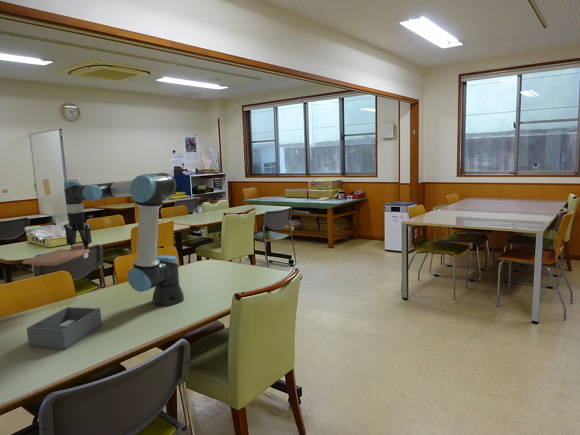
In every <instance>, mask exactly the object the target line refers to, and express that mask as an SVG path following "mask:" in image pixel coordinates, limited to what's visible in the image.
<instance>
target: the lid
mask: <svg viewBox="0 0 580 435" xmlns="http://www.w3.org/2000/svg"><path fill="white" fill-rule="evenodd" d="M76 244H77V245H74V246H71V245H70V247H69V248H58V249H56V250H53V251H50V252H47V253H44V254H41V255H37V256H34V257H31V258H28V259H25V260H22V262H21V263H22V264H23V265H30V266H51V267H53V266H58V265H61V264H63V263H67V262H69V261H71V260H75V259H78V258H80V257H83V255H84V254H85V253H88V254H89V253H90V251H91V250H90V249H82V245H83V243H76ZM88 248H90V244H88Z"/></svg>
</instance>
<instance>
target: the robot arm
mask: <svg viewBox="0 0 580 435" xmlns="http://www.w3.org/2000/svg"><path fill="white" fill-rule="evenodd" d="M176 189H177V181H176V179H175V178H174V177H173V176H172V175H171V174H169V173H166V172H159V173H157V172H156V173H145V174H144V173H143V174H139V175H137V176H136V177H134V178H133V179H132V180H125V181H115V182H114V181H113V182H105V183H94V184H93V183H92V184H82V182H81V181H80V180H67V181H65V182H63V191H64V198H65V206H66V212H67V213H66V214H67V221H68V223H67V224H64V225H63V228H64V229H65V230H64V232H65V240H66V244H67V245H70V247H71V246H74V245H77V244H78V243H77V242H76V241H77V233H79V235H80V239H81V242H82V244H83V245H82V249H89V248H90V247H89V248H88V244H89V245H90V244H92V242H93V241H92V234H91V233H92V232H91V223H86V222H85V218H86V217H85V212H84V211H85V208H84V201H87V202H88V201H89V202H95V201H98V200H102V199H110V198H117V197H118V198H119V197H131V198H132V199H133V200H134V201H135V203H134V204H135V205H136V206H137V207H138V220H137V223H138V225H137V245H136V246H137V248H136V250H137V251H136V258H134V260H133V262H132V268H130V269H129V271H128V272H127V275H126V277H127V282H128V284H129V286H130V287H131V288H132V289H133V290H135V291H137V292H141V293H142V292H146V291H149V290H151V289H154V292H153V294H152V298H151V299H152V304H153V305H154V306H158V307H159V306H162V307H163V306H164V307H165V306H173V305H177V304H179V303H182V302H183V301H184V299H185V295H184V292H183V289H182V287H181V285H180V279H179V278H180V277H179V263H178V258H177V256H176V255H171V254H164V255H163V254H157V252H158V238H159V236H158V234H159V233H158V231H159V218H160V217H159V214H160V208H161V207H163V205H164V199H166V198H169V197H171V196H172V195H174V193H175V192H176ZM82 257H83V259H87V258H89V252H88V253H85V254H84V255H83V256H82Z"/></svg>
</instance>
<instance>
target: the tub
mask: <svg viewBox="0 0 580 435" xmlns="http://www.w3.org/2000/svg"><path fill="white" fill-rule="evenodd" d="M101 314H102V313H101V308H100V307H99V308H98V307H95V308H94V307H77V306H67V307H65V308H63V309H61V310H58V311H57V312H55V313H53V314H51V315H49V316H47V317H46V318H43V319H42V320H39V321H37V322H35V323H33V324H32V325H29V326H28V327H26V332H27V340H28V347H29V348H31V349H42V350H44V349H47V350H59V351H66V350H68V349H70V347H72V346H74V345H76V344H77V343H79V342H80V341H81V340H84V338H86V337H87V336H89V335H91V334H92V333H93V332H95V331H97V330H98V329H100V328H102V326H103V322H102V315H101Z"/></svg>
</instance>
